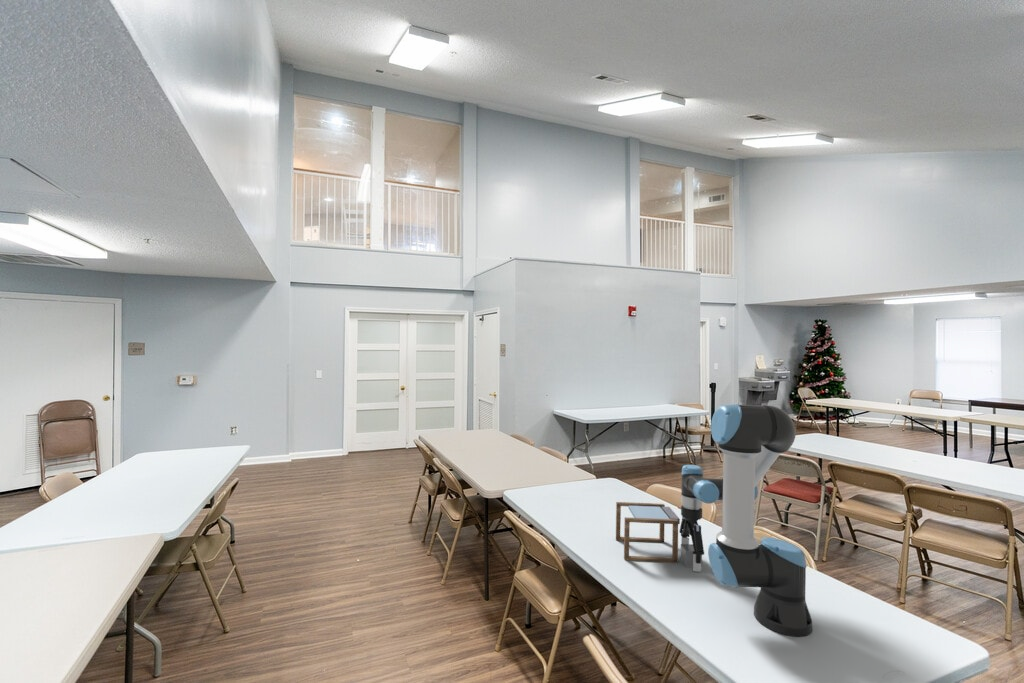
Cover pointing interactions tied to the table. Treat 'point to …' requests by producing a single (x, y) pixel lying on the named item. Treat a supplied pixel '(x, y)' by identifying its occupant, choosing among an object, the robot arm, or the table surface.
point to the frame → (660, 539)
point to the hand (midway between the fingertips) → (690, 562)
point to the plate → (653, 512)
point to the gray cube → (687, 555)
